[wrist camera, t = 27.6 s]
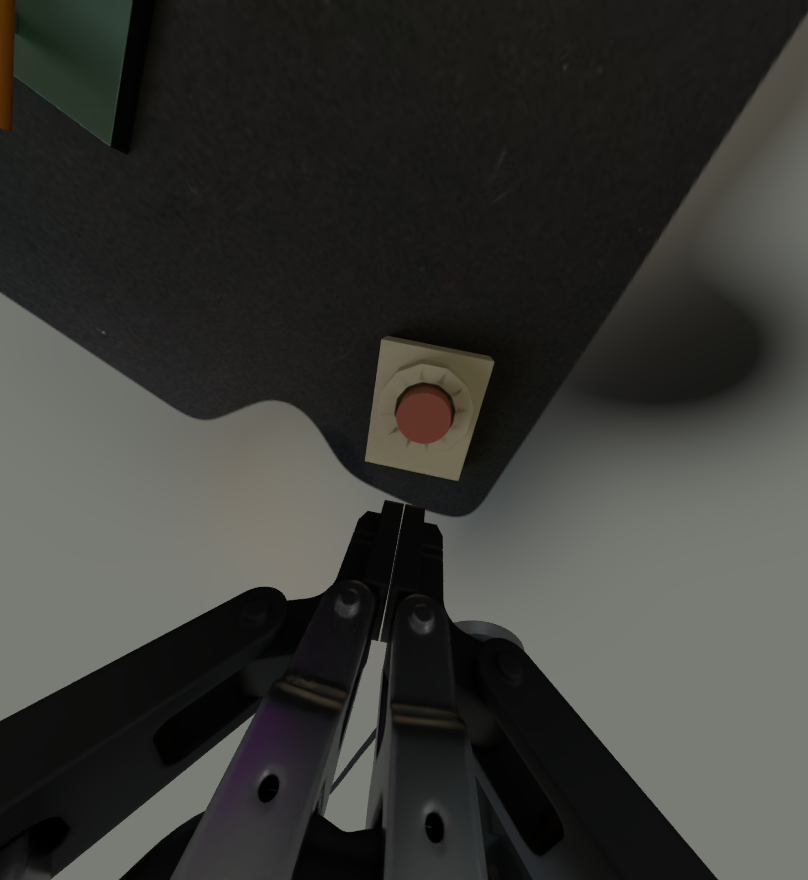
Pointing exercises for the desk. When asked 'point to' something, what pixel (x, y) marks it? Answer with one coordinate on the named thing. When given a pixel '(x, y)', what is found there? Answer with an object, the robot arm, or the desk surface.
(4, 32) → the lever
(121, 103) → the switch bracket
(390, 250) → the desk surface
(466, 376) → the stop housing
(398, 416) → the stop button
